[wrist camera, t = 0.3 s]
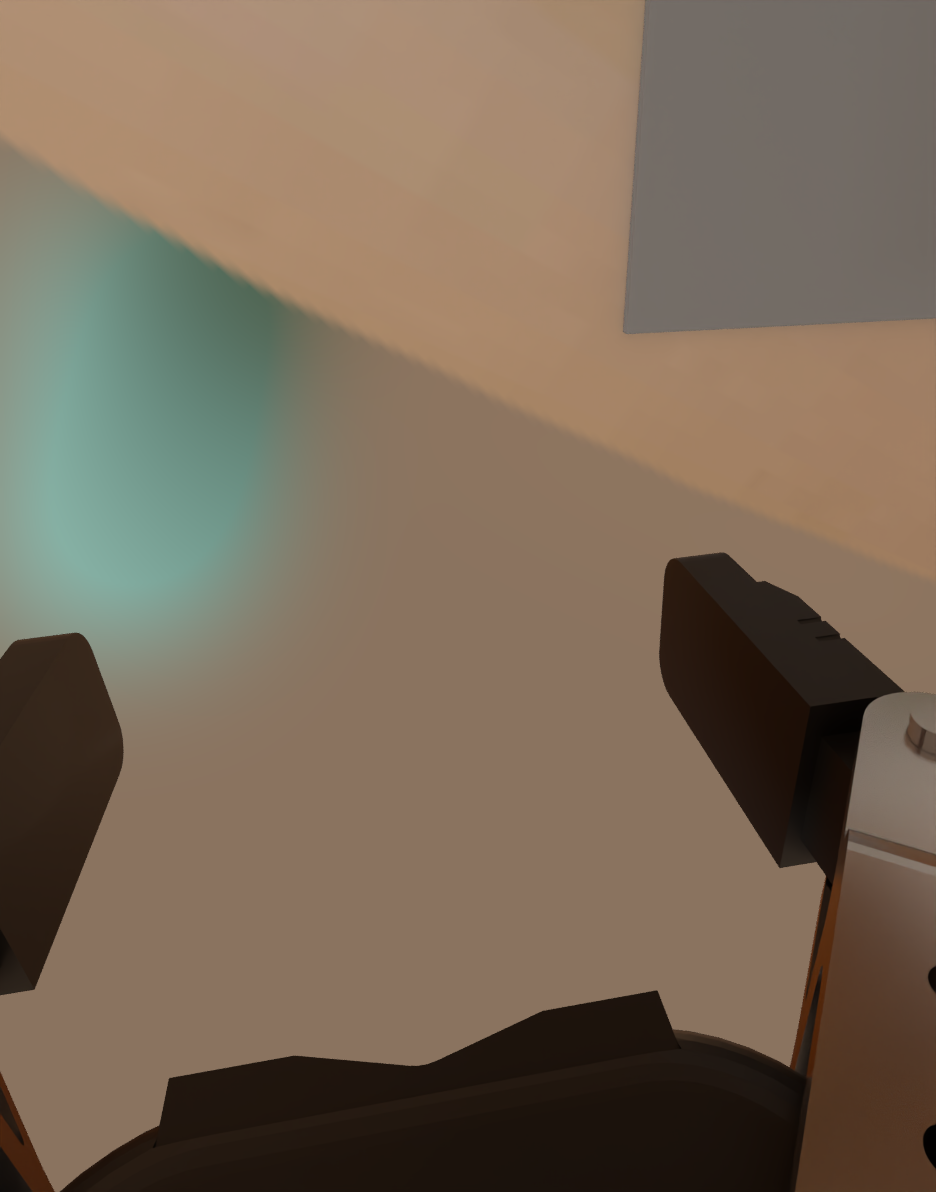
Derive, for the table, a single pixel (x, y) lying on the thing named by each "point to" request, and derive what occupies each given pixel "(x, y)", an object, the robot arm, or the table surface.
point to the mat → (783, 165)
